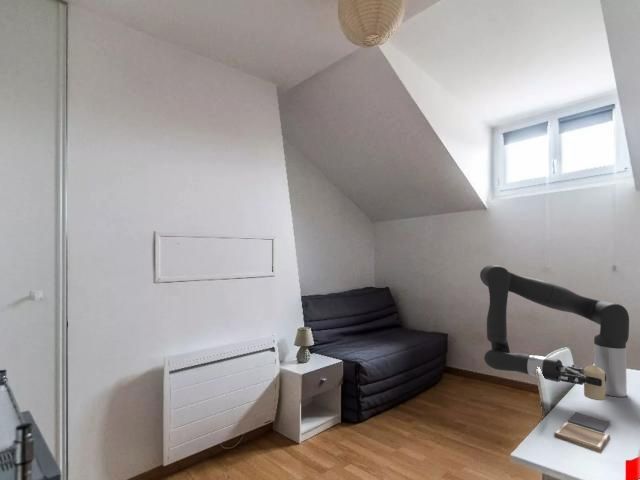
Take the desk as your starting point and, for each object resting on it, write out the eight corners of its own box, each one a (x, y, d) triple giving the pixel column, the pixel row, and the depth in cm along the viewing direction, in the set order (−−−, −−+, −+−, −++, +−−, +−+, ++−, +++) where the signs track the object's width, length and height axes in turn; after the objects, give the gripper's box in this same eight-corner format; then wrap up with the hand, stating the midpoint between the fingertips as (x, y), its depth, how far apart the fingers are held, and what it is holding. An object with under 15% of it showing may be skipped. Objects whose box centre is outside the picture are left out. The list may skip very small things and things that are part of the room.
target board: (565, 424, 108) (565, 420, 108) (609, 438, 100) (609, 434, 100) (554, 436, 100) (554, 432, 100) (600, 452, 93) (600, 448, 93)
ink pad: (575, 413, 115) (575, 411, 115) (609, 423, 109) (609, 421, 109) (567, 422, 109) (567, 420, 109) (602, 433, 103) (602, 430, 103)
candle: (609, 401, 114) (608, 369, 114) (589, 400, 115) (588, 368, 115) (599, 394, 119) (598, 364, 119) (580, 393, 120) (580, 363, 120)
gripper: (537, 361, 123) (598, 373, 111) (551, 353, 133) (608, 364, 120) (537, 383, 123) (599, 398, 110) (551, 373, 133) (609, 386, 120)
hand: (603, 380), depth 115 cm, fingers closed on candle, 5 cm apart
